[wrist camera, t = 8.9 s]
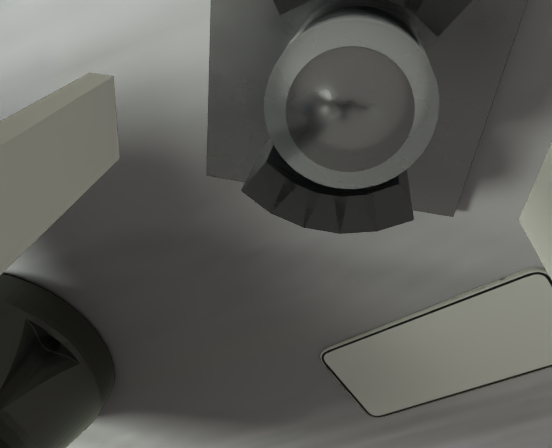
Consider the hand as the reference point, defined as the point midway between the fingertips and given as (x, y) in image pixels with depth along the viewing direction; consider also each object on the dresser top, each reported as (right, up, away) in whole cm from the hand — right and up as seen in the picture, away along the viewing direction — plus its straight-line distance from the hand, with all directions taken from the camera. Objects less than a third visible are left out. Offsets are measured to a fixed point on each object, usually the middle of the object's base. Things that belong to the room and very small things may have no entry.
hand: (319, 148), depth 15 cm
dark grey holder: (+2, +5, +8) cm, 10 cm away
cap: (+2, +5, +7) cm, 9 cm away
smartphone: (+9, -10, +16) cm, 21 cm away
